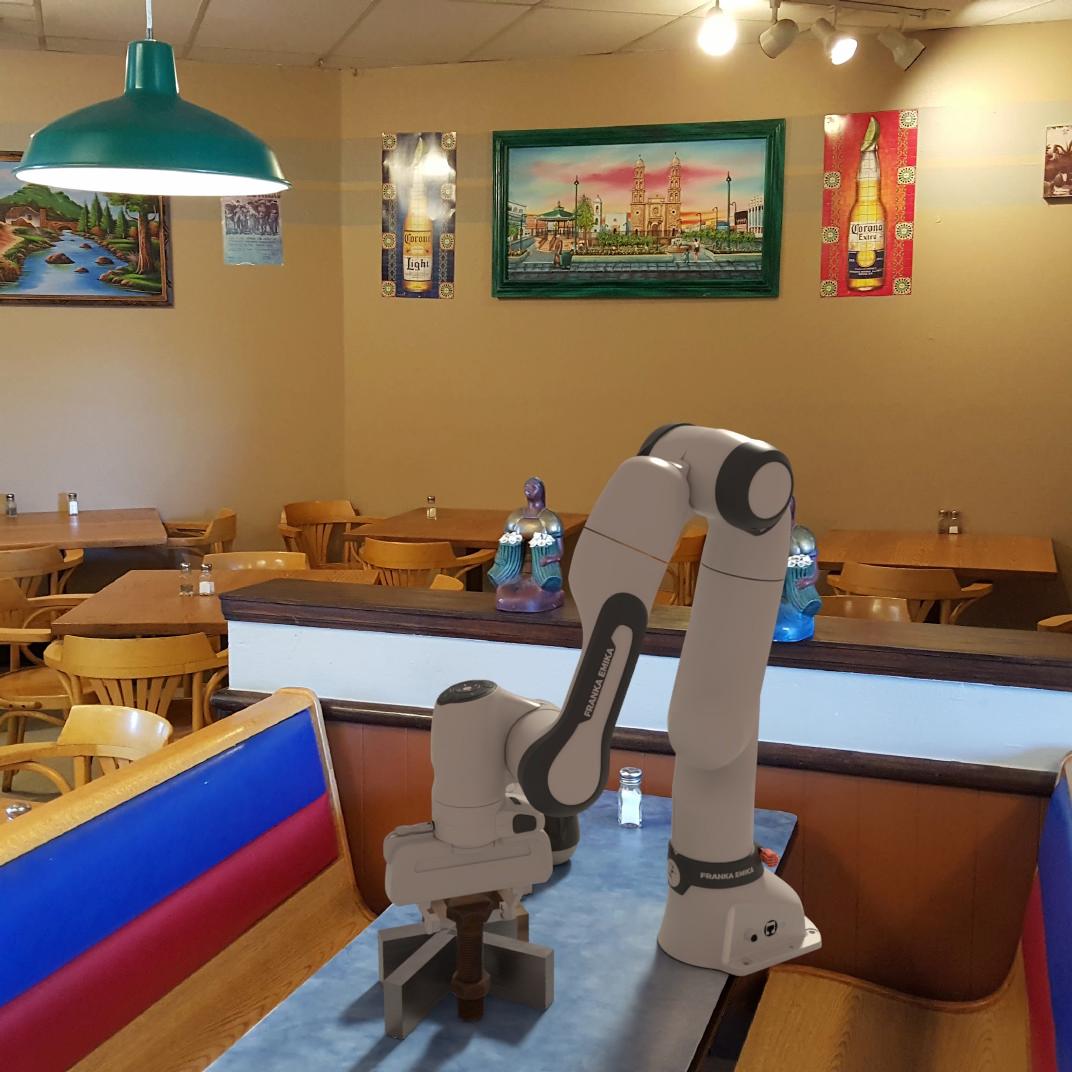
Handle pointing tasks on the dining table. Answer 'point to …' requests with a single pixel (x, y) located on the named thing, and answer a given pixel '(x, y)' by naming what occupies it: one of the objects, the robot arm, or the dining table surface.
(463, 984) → the bolt
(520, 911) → the bore block
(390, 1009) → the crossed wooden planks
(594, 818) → the dining table surface
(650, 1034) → the dining table surface
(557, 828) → the black egg shape
